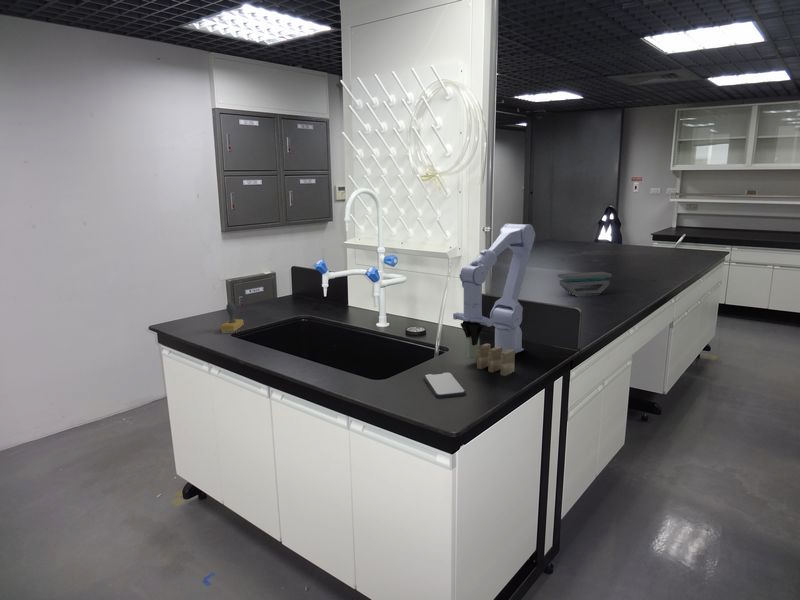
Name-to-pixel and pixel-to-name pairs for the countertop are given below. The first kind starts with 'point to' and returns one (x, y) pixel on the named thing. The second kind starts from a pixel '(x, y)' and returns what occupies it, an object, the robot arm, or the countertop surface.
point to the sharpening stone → (585, 282)
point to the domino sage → (471, 348)
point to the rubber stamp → (231, 320)
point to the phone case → (444, 385)
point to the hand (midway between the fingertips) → (472, 344)
